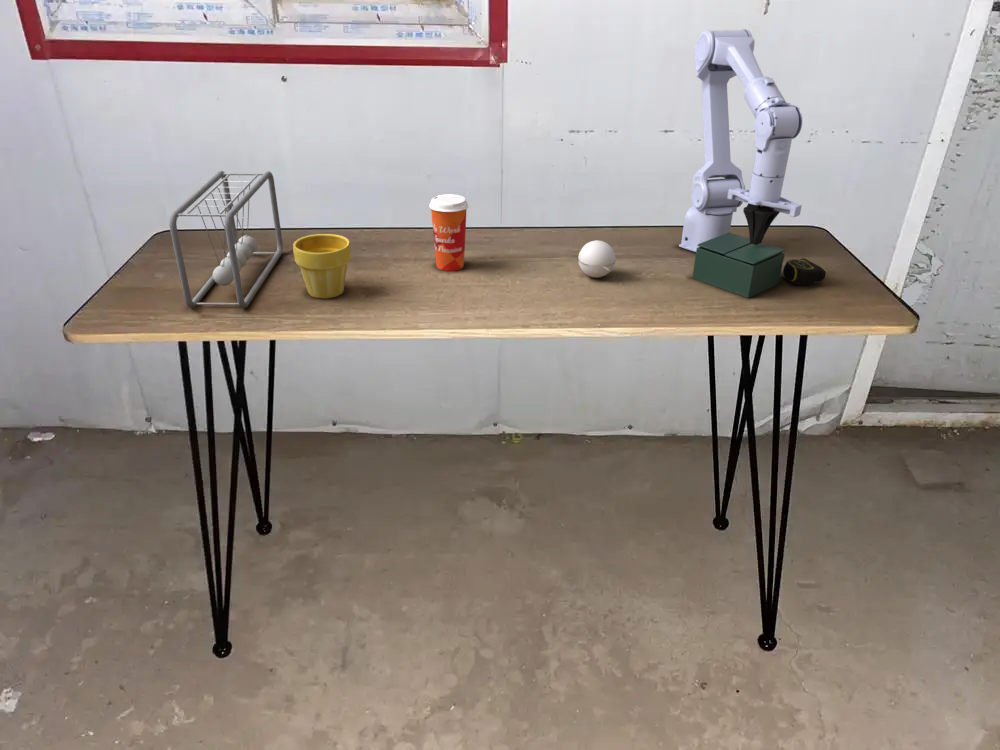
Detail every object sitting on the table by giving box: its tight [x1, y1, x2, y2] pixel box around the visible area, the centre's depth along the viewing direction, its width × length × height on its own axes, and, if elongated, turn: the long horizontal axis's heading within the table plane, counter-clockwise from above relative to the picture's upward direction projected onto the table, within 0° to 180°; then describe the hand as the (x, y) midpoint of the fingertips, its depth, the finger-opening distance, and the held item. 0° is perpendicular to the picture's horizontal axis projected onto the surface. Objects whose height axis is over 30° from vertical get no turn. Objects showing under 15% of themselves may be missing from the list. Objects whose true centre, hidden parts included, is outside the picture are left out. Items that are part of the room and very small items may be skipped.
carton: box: [691, 231, 785, 299], centre depth 152 cm, size 13×11×7 cm
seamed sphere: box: [577, 239, 616, 279], centre depth 152 cm, size 10×7×7 cm
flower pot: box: [292, 233, 352, 299], centre depth 145 cm, size 10×10×10 cm
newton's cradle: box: [168, 170, 284, 309], centre depth 147 cm, size 30×10×18 cm, turn 0°
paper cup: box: [429, 193, 470, 272], centre depth 155 cm, size 8×8×14 cm
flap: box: [725, 242, 786, 264], centre depth 148 cm, size 6×11×1 cm, turn 132°
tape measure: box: [782, 258, 827, 286], centre depth 153 cm, size 7×7×4 cm
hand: (755, 243), depth 151 cm, fingers closed
